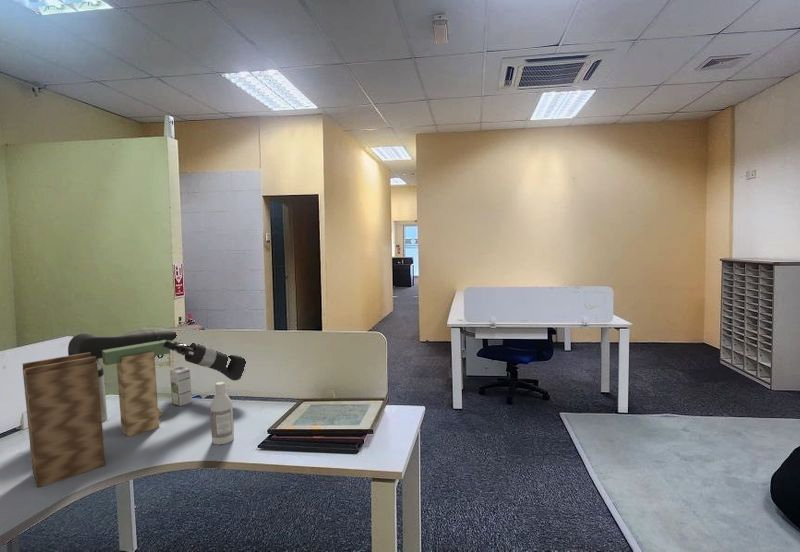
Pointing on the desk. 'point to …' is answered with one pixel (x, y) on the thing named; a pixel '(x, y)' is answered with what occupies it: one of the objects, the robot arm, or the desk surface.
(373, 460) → the desk surface
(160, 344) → the sage green plank
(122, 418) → the block
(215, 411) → the bath foam
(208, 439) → the desk surface
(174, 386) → the syrup box
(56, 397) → the brown patterned box
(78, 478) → the desk surface
